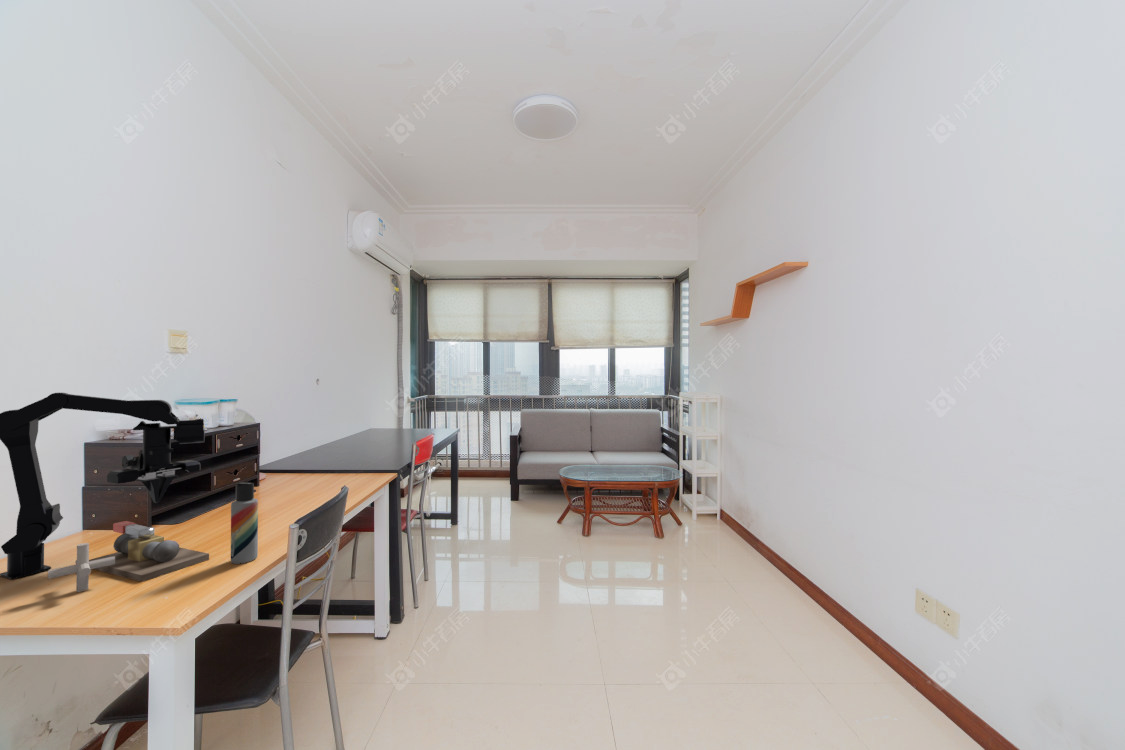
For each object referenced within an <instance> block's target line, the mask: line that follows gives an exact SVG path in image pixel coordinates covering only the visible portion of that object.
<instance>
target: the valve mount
mask: <svg viewBox="0 0 1125 750" xmlns="http://www.w3.org/2000/svg"><path fill="white" fill-rule="evenodd" d="M113 548H114V549H113V550H115V552H114V553H110V554H106V555H102V556H98V557H95V558H91V559H89V562H90V561H94V560H99V559H104V558H108V557H113V556H115V564H113V565H108V566H104V567H100V568H95V569H94V570H95V571H99V572H103V573H107V574H109V575H114V576H117V577H122V578H126V579H129V580H132V581H133V580H134V581H137V582H141V583H142V582H146V581H149V580H151V579H154V578H158V577H161V576H163V575H167V574H170V573H172V572H175V571H178V570H182V569H184V568H187V567H188V568H189V567H191V566H194V565H197V564H199V563H200V564H201V563H202V562H205V561H209V560H210V553H209V552H208V553H207V552H204V551H198V550H195V549H188V548H184V547H180V545H179V543H178V541H175V540H171V539H166V540H165V536H163V535H156V534H154V536H151V537H147V538H138V536H134V535H130V534H126V533H124V534H122V533H121V534H120V535H119V536H117V537H116V538H115V540H114V542H113Z"/></svg>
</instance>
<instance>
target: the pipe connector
mask: <svg viewBox="0 0 1125 750" xmlns="http://www.w3.org/2000/svg"><path fill="white" fill-rule="evenodd" d="M89 553H90V543H89V542H84V543H83V542H81V543H79V544H76V560H75V562H74V563H75V564H72V565H68V566H67V565H66V566H63V567H58V568H53V569H49V570H47V580H50V579H54V578H59V577H64V576H68V575H72V574H76V585H75V586H76V589H75V591H76V592H77V593H80V592H84V591H87V590H89V578H90V577H89V575H90V574H91V572H92V570H95V568H100V567H104V566H108V565H113V564H115V556H113V557H108V558H104V559H99V560H94V561H90V562H89V560H90V554H89Z"/></svg>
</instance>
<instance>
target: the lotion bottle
mask: <svg viewBox="0 0 1125 750" xmlns="http://www.w3.org/2000/svg"><path fill="white" fill-rule="evenodd" d="M254 492H255V483H254V482H246V481H243V482H238V483H236V484H235V500H234V501H231V503H230V562H231V563H232V564H233V565H234V564H235V565H236V564H237V565H238V564H240V563H241V564H246V562H247V563H249V561H250V562H252V560H253V561H254V559H255V560H256V559H258V554H259V553H258V552H259V499H258V498H255V496H254V495H255V493H254Z"/></svg>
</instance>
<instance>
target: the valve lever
mask: <svg viewBox="0 0 1125 750" xmlns="http://www.w3.org/2000/svg"><path fill="white" fill-rule="evenodd" d="M112 524H113V525H112V532H115V533H119V534H121V535H122V534H124V533H126V534H130V535H134V536H138V538H147V537H151V536H154V535H155V527H154V526H149V527H148V526H145V525H141V524H137V523H136V522H132V521H128V520H125V521H124V520H123V521H119V522H115V523H112Z"/></svg>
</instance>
